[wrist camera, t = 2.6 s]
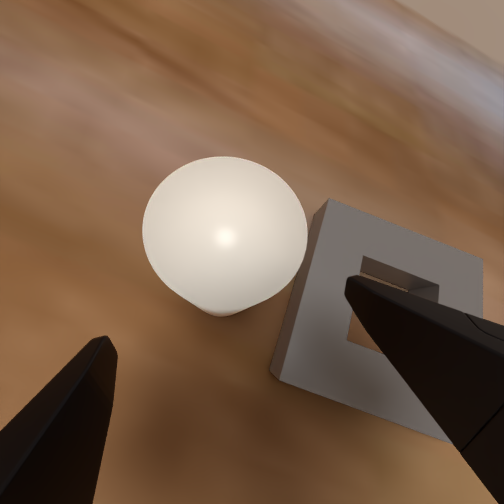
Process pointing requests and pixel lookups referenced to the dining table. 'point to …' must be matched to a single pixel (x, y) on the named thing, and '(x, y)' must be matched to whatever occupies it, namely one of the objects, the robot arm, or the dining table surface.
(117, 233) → the dining table surface
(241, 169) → the peg
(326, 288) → the collar block
